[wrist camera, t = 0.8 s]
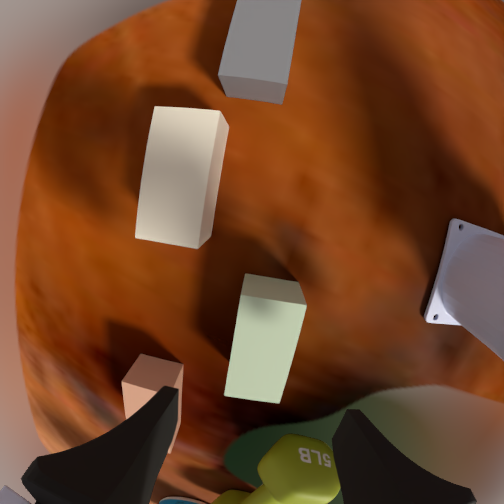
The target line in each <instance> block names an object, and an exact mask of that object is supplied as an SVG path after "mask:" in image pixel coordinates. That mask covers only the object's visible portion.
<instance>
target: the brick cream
mask: <svg viewBox="0 0 504 504" xmlns="http://www.w3.org/2000/svg"><path fill="white" fill-rule="evenodd" d="M228 130H229V125H228V124H227V122H226V120H225V118H224V116H223V115H222V113H221V111H217V110H207V109H195V108H181V107H160V106H155V107H154V112H153V117H152V121H151V126H150V132H149V137H148V142H147V148H146V154H145V160H144V166H143V173H142V180H141V187H140V195H139V203H138V212H137V222H136V233H135V238H139V239H145V240H150V241H156V242H162V243H167V244H173V245H179V246H184V247H190V248H196V249H198V248H199V247H200V246H201V245H203V244H204V243H205V242H206V241H207V240H208V239H209V238H210V237H211V234H212V227H213V220H214V213H215V207H216V200H217V194H218V188H219V182H220V176H221V170H222V164H223V158H224V152H225V146H226V141H227V135H228Z"/></svg>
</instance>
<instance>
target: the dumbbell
mask: <svg viewBox="0 0 504 504" xmlns="http://www.w3.org/2000/svg"><path fill="white" fill-rule="evenodd" d="M257 470H258V473H259V476H260V477H261V479H262V481H263V483H264V484H263V485H262V486H260V487H259V488H257V489H256V490H255V491H254V492H252V493H248V492H244V491H240V490H228V491H226V492H224V493H223V494H221V495H220V496H219V497H218V498H217V499H215V500H214V501H213V502H212V503H211V504H327V503H328V502H330V501H331V500H332V499H334V498H335V496H336V495H337V493H338V492H339V490H340V482H339V478H338V474H337V470H336V466H335V461H334V456H333V451H332V450H331V448H330V447H329V446H328V445H327V444H326V443H324V442H323V441H321V440H318V439H314V438H311V437H306V436H303V435H298V434H286V435H284V436H283V437H281V438H280V439H279V440H278V441H277V442H276V443H275V444H274V445H273V446H272V447H271V448H270V449H269V451H268V452H267V453H266V454H265V455H264V456H263V458H262V459H261V461H260V462H259V464H258V468H257Z"/></svg>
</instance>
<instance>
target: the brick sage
mask: <svg viewBox="0 0 504 504" xmlns="http://www.w3.org/2000/svg"><path fill="white" fill-rule="evenodd" d="M306 307H307V304H306V301H305V299H304V296H303V293H302V290H301V287H300V285H299V282H295V281H288V280H282V279H276V278H270V277H264V276H258V275H252V274H246V273H245V277H244V281H243V286H242V291H241V296H240V302H239V308H238V314H237V320H236V327H235V333H234V339H233V345H232V351H231V357H230V363H229V369H228V375H227V381H226V387H225V394H224V396H229V397H236V398H242V399H249V400H256V401H264V402H272V403H280V400H281V396H282V393H283V390H284V387H285V383H286V380H287V377H288V373H289V370H290V366H291V363H292V359H293V356H294V352H295V349H296V345H297V341H298V338H299V334H300V330H301V326H302V322H303V319H304V315H305V311H306Z"/></svg>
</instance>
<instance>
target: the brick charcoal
mask: <svg viewBox="0 0 504 504" xmlns="http://www.w3.org/2000/svg"><path fill="white" fill-rule="evenodd" d="M300 5H301V0H237V3H236V6H235V10H234V13H233V17H232V21H231V24H230V28H229V32H228V36H227V40H226V43H225V47H224V51H223V55H222V60H221V64H220V68H219V72H218V76H219V79H220V81H221V84H222V86H223V89H224V91H225V94H226V96H227V97H235V98H243V99H250V100H257V101H264V102H270V103H276V104H281V105H282V103H283V99H284V95H285V91H286V87H287V83H288V77H289V71H290V65H291V59H292V53H293V47H294V41H295V35H296V29H297V23H298V17H299V11H300Z"/></svg>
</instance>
